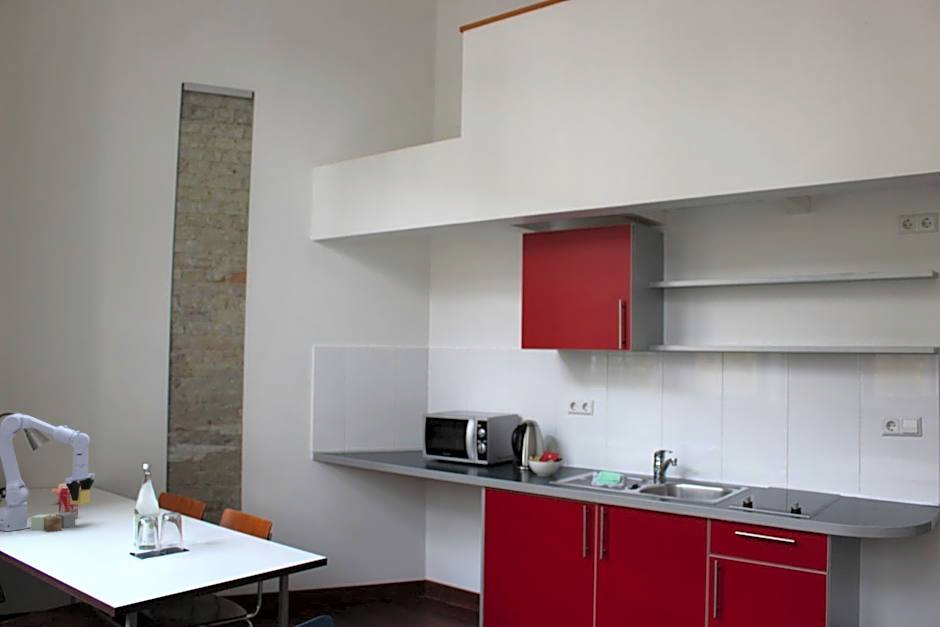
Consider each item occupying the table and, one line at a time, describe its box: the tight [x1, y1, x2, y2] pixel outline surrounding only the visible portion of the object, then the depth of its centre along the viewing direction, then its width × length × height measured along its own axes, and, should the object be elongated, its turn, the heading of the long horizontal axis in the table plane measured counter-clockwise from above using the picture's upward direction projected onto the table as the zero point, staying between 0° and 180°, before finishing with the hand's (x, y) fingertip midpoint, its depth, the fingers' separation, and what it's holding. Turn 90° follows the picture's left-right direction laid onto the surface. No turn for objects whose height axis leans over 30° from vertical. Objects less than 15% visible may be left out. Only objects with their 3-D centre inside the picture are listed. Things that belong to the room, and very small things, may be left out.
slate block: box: [55, 512, 76, 529], centre depth 344 cm, size 5×5×5 cm
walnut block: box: [44, 515, 62, 533], centre depth 337 cm, size 5×5×5 cm
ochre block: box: [70, 489, 91, 506], centre depth 345 cm, size 5×5×5 cm
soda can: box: [58, 486, 79, 519], centre depth 359 cm, size 7×7×13 cm
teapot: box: [51, 482, 81, 502], centre depth 393 cm, size 12×12×10 cm
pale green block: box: [30, 514, 52, 531], centre depth 340 cm, size 5×5×5 cm
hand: (79, 499), depth 345 cm, fingers closed on ochre block, 5 cm apart
